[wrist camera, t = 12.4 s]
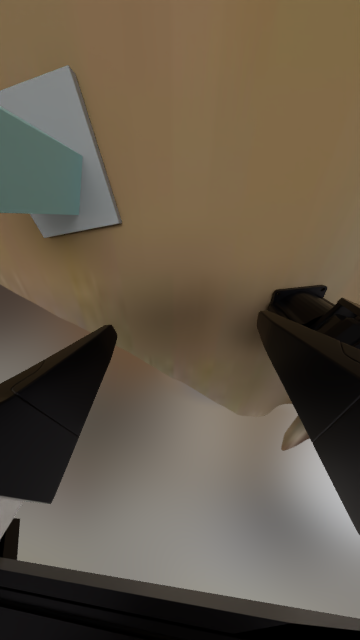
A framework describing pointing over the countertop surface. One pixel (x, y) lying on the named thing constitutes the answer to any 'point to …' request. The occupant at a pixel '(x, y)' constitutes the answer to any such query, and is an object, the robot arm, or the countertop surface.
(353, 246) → the countertop surface
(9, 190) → the block
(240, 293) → the countertop surface
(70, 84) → the coaster
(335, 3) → the countertop surface
